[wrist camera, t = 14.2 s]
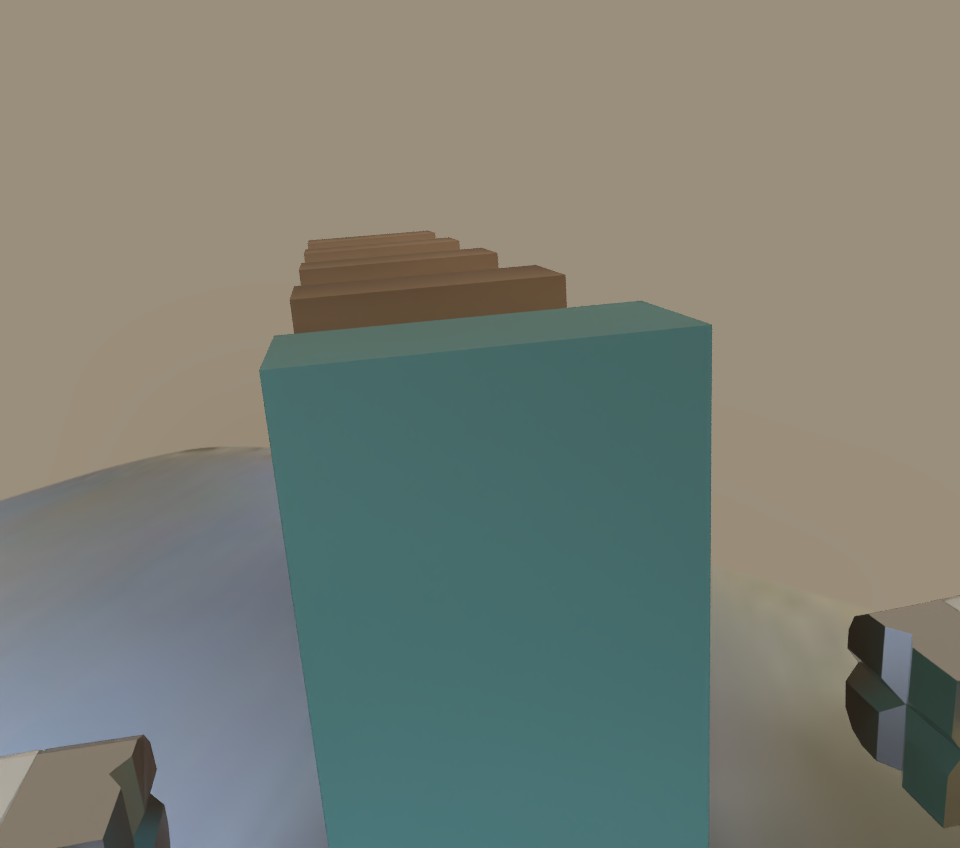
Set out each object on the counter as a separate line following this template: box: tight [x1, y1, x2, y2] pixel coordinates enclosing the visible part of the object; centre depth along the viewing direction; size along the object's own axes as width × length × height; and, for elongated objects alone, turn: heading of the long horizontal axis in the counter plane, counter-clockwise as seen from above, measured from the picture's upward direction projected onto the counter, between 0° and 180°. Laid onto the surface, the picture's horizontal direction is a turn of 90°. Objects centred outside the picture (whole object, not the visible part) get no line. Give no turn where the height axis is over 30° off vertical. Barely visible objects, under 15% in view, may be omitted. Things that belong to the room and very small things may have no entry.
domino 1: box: [299, 248, 498, 286], centre depth 21 cm, size 2×4×12 cm, turn 100°
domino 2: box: [290, 265, 567, 334], centre depth 16 cm, size 2×4×12 cm, turn 100°
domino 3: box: [259, 301, 712, 848], centre depth 11 cm, size 2×4×12 cm, turn 99°
